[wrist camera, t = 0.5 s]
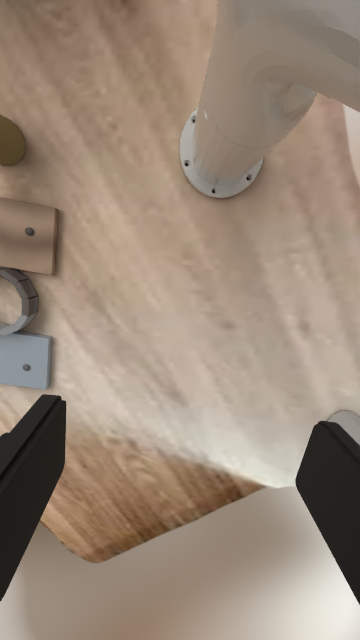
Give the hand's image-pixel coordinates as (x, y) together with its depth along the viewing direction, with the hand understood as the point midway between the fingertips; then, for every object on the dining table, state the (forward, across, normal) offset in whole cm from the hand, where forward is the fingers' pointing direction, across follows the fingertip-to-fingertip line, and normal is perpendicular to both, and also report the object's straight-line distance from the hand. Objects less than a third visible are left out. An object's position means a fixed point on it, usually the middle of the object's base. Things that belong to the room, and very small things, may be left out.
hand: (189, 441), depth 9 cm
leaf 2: (+35, +28, +14) cm, 47 cm away
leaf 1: (+35, +27, -2) cm, 44 cm away
